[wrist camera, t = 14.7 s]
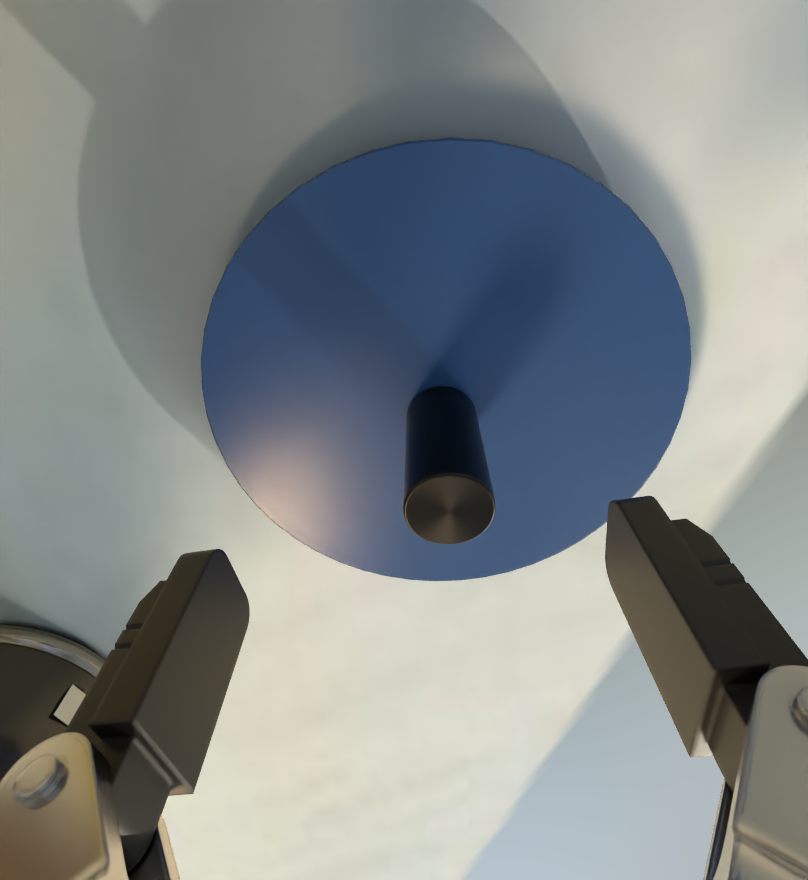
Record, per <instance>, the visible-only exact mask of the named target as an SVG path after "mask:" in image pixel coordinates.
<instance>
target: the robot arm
mask: <svg viewBox="0 0 808 880" xmlns="http://www.w3.org/2000/svg"><path fill="white" fill-rule="evenodd" d="M605 562H606V569H607V574H608V578H609V581H610V584H611V586H612V589H613V591H614V593H615V595H616V598H617V600H618V602H619V604H620V606H621V608H622V611H623V613H624V615H625V617H626V619H627V621H628V624H629V626H630V628H631V630H632V632H633V634H634V637H635V639H636V641H637V643H638V645H639V647H640V650H641V652H642V654H643V656H644V658H645V661H646V663H647V665H648V667H649V669H650V671H651V674H652V675H653V678H654V680H655V682H656V684H657V686H658V689H659V691H660V693H661V695H662V697H663V700H664V702H665V704H666V706H667V708H668V711H669V713H670V715H671V717H672V719H673V721H674V724H675V726H676V728H677V730H678V732H679V734H680V737H681V739H682V741H683V743H684V745H685V747H686V750H687V752H688V754H689V756H690V757H700V756H714V758H715V760H716V762H717V764H718V766H719V768H720V770H721V772H722V774H723V776H724V778H725V779H724V782H723V785H722V790H721V795H720V800H719V804H718V810H717V814H716V819H715V824H714V829H713V834H712V839H711V844H710V849H709V853H708V858H707V863H706V868H705V873H704V878H703V880H808V659H807V658H806V657H805V655H804V654H803V653H802V652H801V650H800V649H799V648H798V646H797V645H796V644H795V642H794V641H793V640H792V639H791V637H790V636H789V635H788V633H787V632H786V631H785V630H784V628H783V627H782V626H781V624H780V623H779V622H778V621H777V619H776V618H775V617H774V615H773V614H772V613H771V611H770V610H769V609H768V608H767V606H766V605H765V604H764V603H763V601H762V600H761V599H760V597H759V596H758V595H757V593H756V592H755V591H754V590H753V588H752V587H751V586H750V584H749V583H746V582H745V580H744V577H743V575H742V574H741V573H740V571H739V570H738V569H737V567H736V566H735V565H734V564H733V563H732V564H731V563H730V558H729V557H728V556H727V555H726V553H725V552H724V551H723V549H722V548H721V547H720V546H719V544H718V543H717V542H716V540H715V539H714V538H713V536H711V535H710V534H708V533H707V532H705V531H704V530H702V529H701V528H699V527H698V526H696V525H695V524H693V523H692V522H690V521H689V520H687V519H680V520H672V521H671V520H670V519H669V517H668V516H667V514H666V513H665V512H664V510H663V509H662V507H661V506H660V504H659V503H658V502H657V500H656V499H655V498H654V497H652V496H644V497H636V498H628V499H620V500H612V501H611V502H610V503H609V506H608V519H607V535H606V551H605ZM248 623H249V603H248V599H247V596H246V594H245V592H244V590H243V588H242V586H241V584H240V582H239V579H238V577H237V575H236V573H235V571H234V569H233V567H232V565H231V563H230V561H229V559H228V557H227V555H226V554H225V552H224V551H222V550H221V549H215V550H207V551H199V552H191V553H185V554H183V555H181V556H180V558H179V559H178V561H177V562H176V564H175V566H174V568H173V570H172V572H171V573H170V575H169V577H168V579H167V580H166V581H160V582H159V583H158V584H157V585H156V586H155V587H154V588H153V589H152V590H151V591H150V592H149V593H148V594H147V595H146V596H145V597H144V598H143V599H142V600H141V601H140V602H139V604H138V606H137V607H136V609H135V611H134V612H133V614H132V616H131V618H130V619H129V621H128V623H127V625H126V630H123V631H122V633H121V635H120V637H119V638H118V640H117V642H116V644H115V649H114V650H111V652H110V654H109V656H108V657H107V659H106V660H104V659H103V658H102V657H100V656H99V655H97V654H96V653H94V652H93V651H91V650H89V649H87V648H86V647H84V646H82V645H80V644H78V643H76V642H73V641H71V640H69V639H66V638H64V637H61V636H58V635H55V634H52V633H49V632H45V631H41V630H37V629H32V628H27V627H20V626H11V625H0V880H180V877H179V873H178V869H177V866H176V862H175V858H174V854H173V850H172V846H171V842H170V838H169V835H168V831H167V827H166V824H165V821H164V819H163V817H162V816H161V814H162V811H163V808H164V806H165V803H166V800H167V797H168V796H171V795H183V794H193V792H194V789H195V786H196V783H197V780H198V777H199V774H200V771H201V768H202V765H203V762H204V759H205V756H206V753H207V750H208V747H209V743H210V740H211V737H212V734H213V731H214V728H215V725H216V722H217V719H218V716H219V713H220V710H221V707H222V704H223V701H224V698H225V695H226V691H227V688H228V685H229V682H230V679H231V676H232V673H233V670H234V667H235V664H236V661H237V658H238V655H239V652H240V649H241V646H242V643H243V639H244V636H245V633H246V630H247V627H248Z"/></svg>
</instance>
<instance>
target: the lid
mask: <svg viewBox="0 0 808 880" xmlns="http://www.w3.org/2000/svg"><path fill="white" fill-rule="evenodd" d="M690 365H691V345H690V327H689V322H688V317H687V312H686V307H685V302H684V298H683V294H682V292H681V289H680V287H679V284H678V281H677V279H676V276H675V274H674V271H673V268H672V266H671V264H670V262H669V261H668V259H667V257H666V255H665V254H664V252H663V250H662V249H661V247H660V245H659V244H658V242H657V240H656V238H655V237H654V235H653V234H652V233H651V232H650V231H649V229H648V228H647V227H646V226H645V225H644V223H643V222H642V221H641V220H640V219H639V217H638V216H637V215H636V214H635V213H634V211H633V210H632V209H631V208H630V207H629V206H628V205H626V204H625V203H624V202H623V201H622V200H620V199H619V198H618V197H617V196H616V195H615V194H613V193H612V192H611V191H610V190H609V189H608V188H606V187H605V186H604V185H603V184H601V183H600V182H598V181H596V180H595V179H593V178H591V177H590V176H588V175H586V174H585V173H583V172H581V171H580V170H578V169H576V168H575V167H573V166H571V165H570V164H568V163H565V162H563V161H560V160H558V159H555V158H553V157H550V156H548V155H545V154H543V153H540V152H538V151H535V150H532V149H528V148H524V147H519V146H515V145H511V144H506V143H502V142H497V141H493V140H479V139H464V138H440V139H428V140H417V141H408V142H404V143H400V144H396V145H392V146H388V147H384V148H379V149H375V150H371V151H368V152H366V153H363V154H361V155H359V156H356V157H354V158H351V159H349V160H346V161H344V162H342V163H339V164H337V165H334V166H332V167H330V168H329V169H327V170H325V171H324V172H322V173H320V174H319V175H317V176H315V177H314V178H312V179H310V180H309V181H307V182H305V183H304V184H302V185H300V186H299V187H297V188H296V189H295V190H294V191H292V192H291V193H290V194H289V195H288V196H286V197H285V198H284V199H283V200H282V201H280V202H279V203H278V204H277V205H276V206H275V207H273V208H272V209H271V210H270V211H269V212H268V213H267V214H266V215H265V216H264V217H263V218H262V220H261V221H260V222H259V223H258V224H257V225H256V226H255V227H254V229H253V230H252V231H251V232H250V233H249V234H248V235H247V237H246V238H245V239H244V241H243V242H242V244H241V245H240V247H239V248H238V250H237V251H236V253H235V255H234V256H233V258H232V259H231V261H230V262H229V264H228V265H227V267H226V269H225V271H224V274H223V276H222V278H221V280H220V283H219V285H218V287H217V289H216V292H215V294H214V296H213V299H212V302H211V306H210V310H209V314H208V317H207V321H206V325H205V328H204V337H203V346H202V355H201V371H202V390H203V396H204V401H205V407H206V412H207V417H208V420H209V423H210V426H211V429H212V432H213V435H214V438H215V441H216V443H217V446H218V448H219V450H220V452H221V454H222V456H223V458H224V460H225V462H226V464H227V466H228V468H229V469H230V471H231V472H232V474H233V475H234V477H235V478H236V480H237V481H238V483H239V484H240V486H241V487H242V489H243V490H244V491H245V492H246V493H247V495H248V496H249V497H250V498H251V499H252V500H253V502H254V503H255V504H256V505H257V506H258V507H259V508H260V509H261V510H262V511H263V512H264V513H265V514H266V515H267V516H268V517H269V518H270V519H271V520H272V521H273V522H275V523H276V524H277V525H278V526H279V527H281V528H282V529H283V530H285V531H286V532H287V533H289V534H290V535H291V536H293V537H294V538H295V539H297V540H299V541H300V542H302V543H304V544H305V545H307V546H309V547H310V548H312V549H314V550H315V551H317V552H319V553H321V554H323V555H326V556H328V557H330V558H332V559H334V560H336V561H338V562H341V563H344V564H347V565H349V566H352V567H355V568H358V569H361V570H364V571H368V572H372V573H376V574H380V575H384V576H390V577H396V578H403V579H410V580H425V581H452V580H466V579H474V578H482V577H487V576H492V575H497V574H501V573H506V572H510V571H513V570H516V569H519V568H522V567H526V566H529V565H532V564H535V563H537V562H539V561H542V560H544V559H546V558H549V557H551V556H553V555H556V554H558V553H560V552H561V551H563V550H565V549H567V548H569V547H570V546H572V545H574V544H576V543H578V542H580V541H581V540H582V539H584V538H585V537H587V536H588V535H590V534H591V533H593V532H594V531H596V530H597V529H599V528H600V527H601V526H603V525H604V524H605V523H606V522H607V519H608V506H609V503H610V502H611V501H612V500H620V499H628V498H633V497H634V495H635V494H636V493H637V492H638V491H639V490H640V489H641V488H642V486H643V485H644V484H645V482H646V481H647V479H648V478H649V477H650V475H651V474H652V473H653V471H654V470H655V469H656V467H657V465H658V464H659V462H660V460H661V458H662V457H663V455H664V453H665V451H666V450H667V448H668V446H669V444H670V442H671V440H672V437H673V435H674V432H675V430H676V428H677V425H678V423H679V420H680V418H681V414H682V410H683V406H684V402H685V399H686V395H687V391H688V384H689V375H690Z"/></svg>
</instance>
